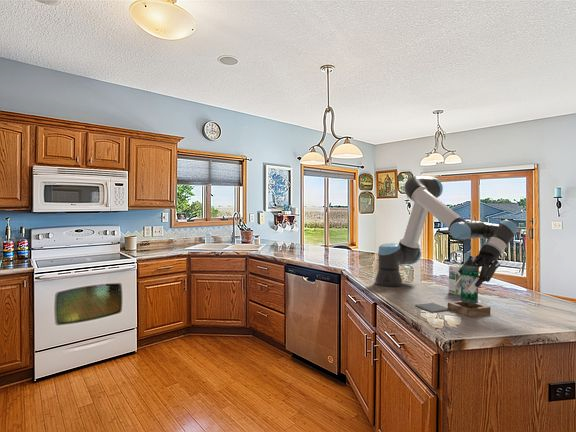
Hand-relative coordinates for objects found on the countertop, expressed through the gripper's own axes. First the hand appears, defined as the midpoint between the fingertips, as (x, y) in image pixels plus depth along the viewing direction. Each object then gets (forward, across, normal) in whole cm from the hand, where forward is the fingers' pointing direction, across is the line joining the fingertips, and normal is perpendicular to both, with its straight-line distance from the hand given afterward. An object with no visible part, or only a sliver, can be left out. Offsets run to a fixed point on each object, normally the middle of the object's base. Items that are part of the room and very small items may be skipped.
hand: (463, 289), depth 138 cm
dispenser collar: (+5, 0, -10) cm, 11 cm away
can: (+1, 0, -6) cm, 7 cm away
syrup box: (-10, +25, -24) cm, 36 cm away
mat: (+12, +9, -2) cm, 15 cm away
